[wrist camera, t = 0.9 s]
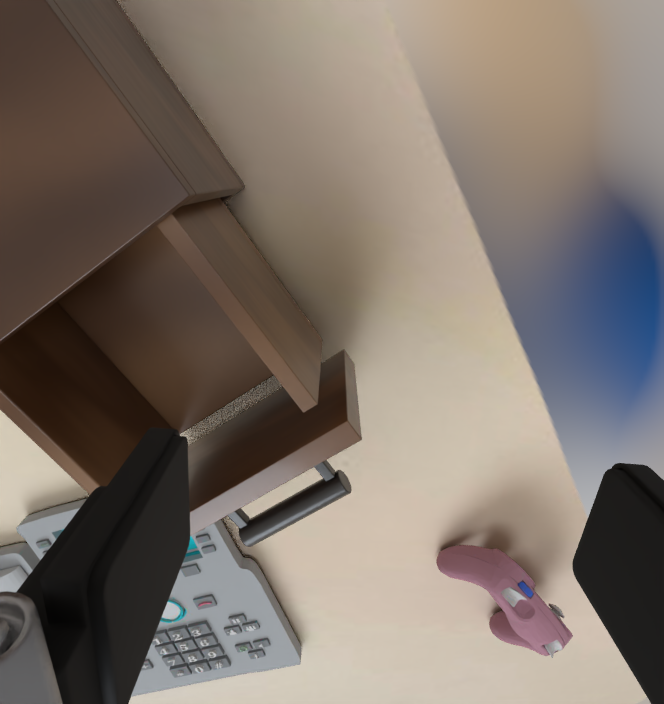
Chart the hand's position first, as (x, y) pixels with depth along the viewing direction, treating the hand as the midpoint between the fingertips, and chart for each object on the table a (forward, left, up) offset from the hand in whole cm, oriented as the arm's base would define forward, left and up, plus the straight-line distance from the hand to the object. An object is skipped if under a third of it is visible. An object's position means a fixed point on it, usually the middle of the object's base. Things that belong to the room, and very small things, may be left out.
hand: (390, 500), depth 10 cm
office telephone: (+29, +11, -19) cm, 37 cm away
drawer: (+9, -2, -18) cm, 21 cm away
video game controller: (+3, +25, -19) cm, 32 cm away
